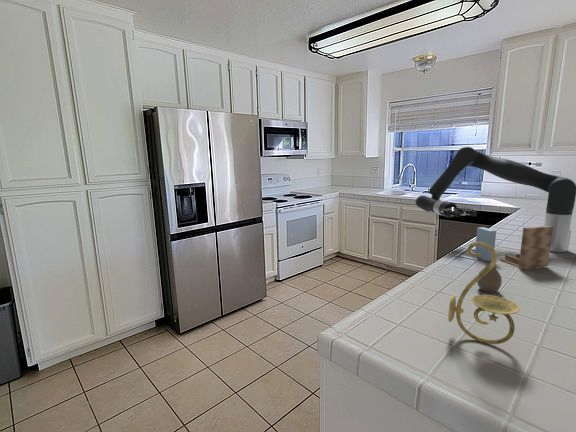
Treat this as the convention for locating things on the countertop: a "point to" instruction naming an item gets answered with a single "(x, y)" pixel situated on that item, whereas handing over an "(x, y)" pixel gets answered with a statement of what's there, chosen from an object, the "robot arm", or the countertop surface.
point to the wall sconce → (484, 302)
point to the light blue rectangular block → (485, 237)
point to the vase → (490, 281)
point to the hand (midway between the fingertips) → (468, 214)
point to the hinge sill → (533, 248)
